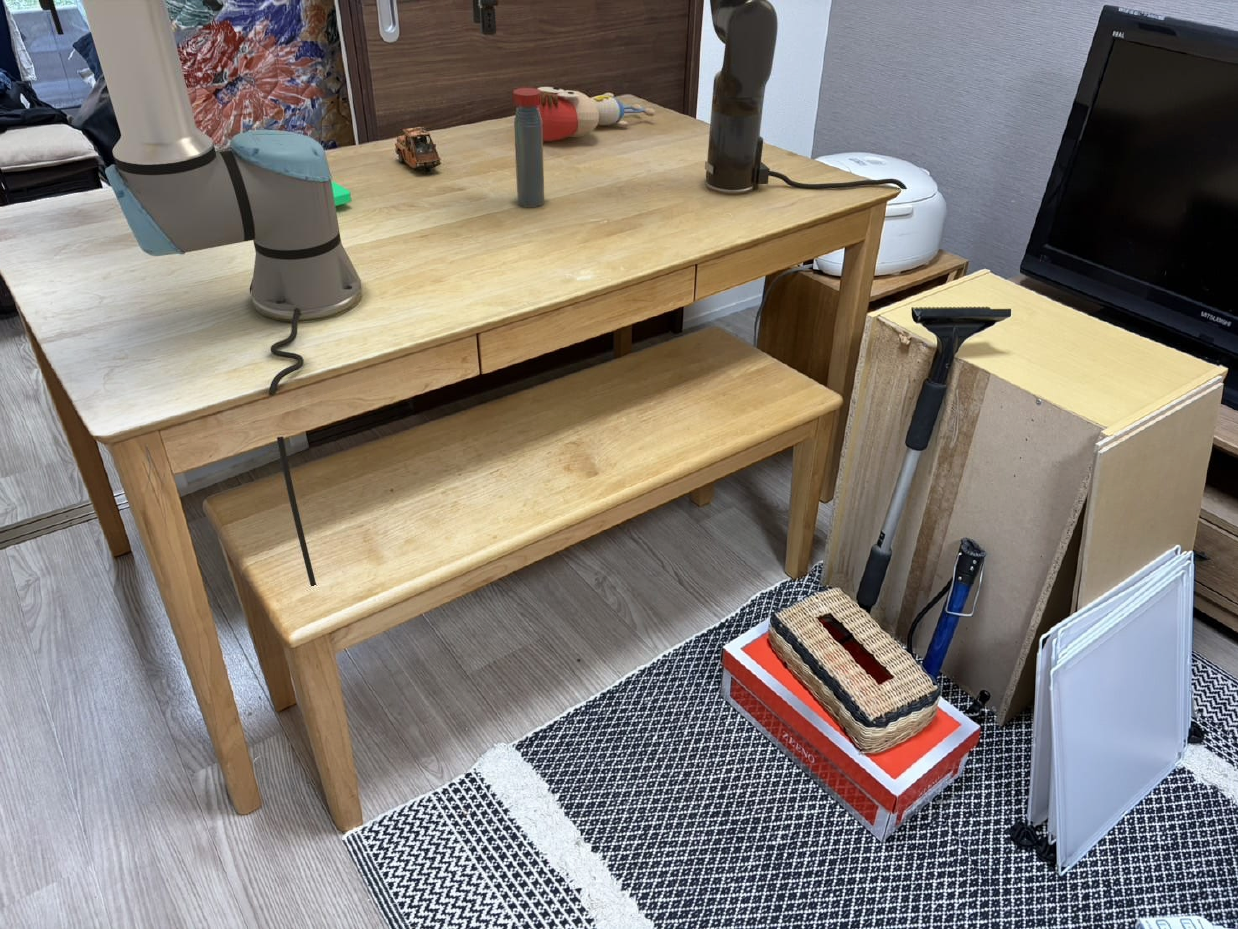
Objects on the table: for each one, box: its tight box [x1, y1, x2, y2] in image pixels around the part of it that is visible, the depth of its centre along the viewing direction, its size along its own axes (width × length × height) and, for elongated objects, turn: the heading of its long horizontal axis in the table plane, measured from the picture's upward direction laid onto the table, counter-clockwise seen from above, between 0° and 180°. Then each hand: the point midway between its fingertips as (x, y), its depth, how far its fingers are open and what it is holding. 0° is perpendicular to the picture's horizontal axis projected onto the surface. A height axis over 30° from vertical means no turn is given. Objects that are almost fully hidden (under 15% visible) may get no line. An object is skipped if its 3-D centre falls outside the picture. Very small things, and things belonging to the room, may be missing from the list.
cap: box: [512, 87, 542, 107], centre depth 156 cm, size 5×5×2 cm
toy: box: [537, 86, 656, 142], centre depth 199 cm, size 18×10×30 cm
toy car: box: [394, 126, 442, 174], centre depth 178 cm, size 6×12×7 cm, turn 39°
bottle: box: [513, 106, 545, 208], centre depth 161 cm, size 5×5×19 cm
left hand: (108, 29), depth 146 cm, fingers open, 13 cm apart
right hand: (484, 28), depth 148 cm, fingers open, 8 cm apart
